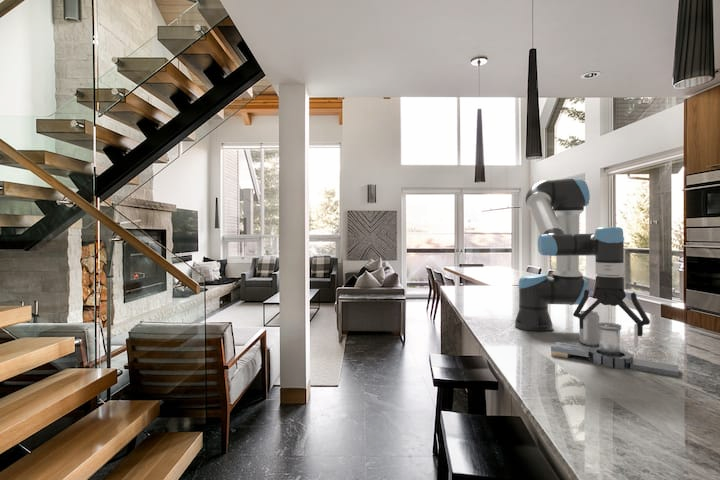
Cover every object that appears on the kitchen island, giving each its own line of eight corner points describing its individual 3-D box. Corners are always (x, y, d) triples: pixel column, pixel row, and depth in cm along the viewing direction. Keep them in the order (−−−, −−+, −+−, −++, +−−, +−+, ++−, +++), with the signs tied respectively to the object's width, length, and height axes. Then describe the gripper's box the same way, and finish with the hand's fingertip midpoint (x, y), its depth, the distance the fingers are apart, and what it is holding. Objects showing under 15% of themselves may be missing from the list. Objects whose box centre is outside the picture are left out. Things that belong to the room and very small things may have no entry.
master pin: (596, 363, 120) (596, 325, 120) (600, 358, 125) (599, 321, 125) (620, 367, 116) (620, 327, 116) (622, 361, 121) (622, 324, 121)
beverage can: (594, 341, 144) (593, 310, 144) (603, 346, 138) (602, 313, 138) (576, 341, 145) (576, 310, 145) (584, 346, 139) (584, 313, 139)
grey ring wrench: (549, 357, 127) (549, 348, 127) (557, 349, 136) (557, 340, 136) (678, 379, 105) (678, 368, 105) (678, 368, 114) (678, 358, 114)
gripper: (563, 274, 126) (563, 338, 126) (658, 279, 110) (659, 352, 110) (568, 272, 131) (568, 333, 132) (659, 277, 115) (660, 346, 116)
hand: (610, 342), depth 121 cm, fingers open, 13 cm apart
